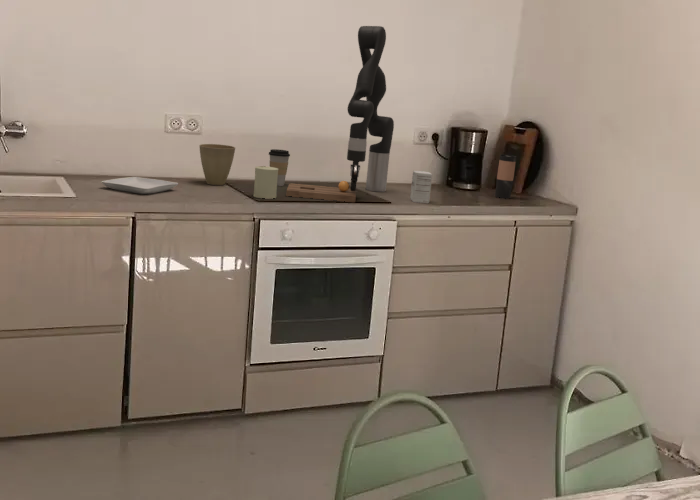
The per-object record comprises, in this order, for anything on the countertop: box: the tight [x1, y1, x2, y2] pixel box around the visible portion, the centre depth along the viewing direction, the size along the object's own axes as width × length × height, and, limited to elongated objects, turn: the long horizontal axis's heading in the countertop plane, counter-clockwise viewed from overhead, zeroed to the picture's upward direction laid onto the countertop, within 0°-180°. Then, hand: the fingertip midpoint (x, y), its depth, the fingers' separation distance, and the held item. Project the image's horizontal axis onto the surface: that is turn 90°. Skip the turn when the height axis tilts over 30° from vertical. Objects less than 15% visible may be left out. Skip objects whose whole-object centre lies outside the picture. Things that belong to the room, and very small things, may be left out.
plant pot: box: [199, 143, 236, 186], centre depth 334 cm, size 15×15×16 cm
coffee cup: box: [268, 148, 291, 187], centre depth 349 cm, size 9×9×15 cm
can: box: [252, 165, 278, 200], centre depth 314 cm, size 9×9×12 cm
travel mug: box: [494, 153, 517, 199], centre depth 375 cm, size 8×8×20 cm
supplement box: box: [409, 170, 433, 204], centre depth 340 cm, size 7×7×13 cm
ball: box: [337, 180, 350, 192], centre depth 331 cm, size 4×4×4 cm
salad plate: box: [101, 176, 179, 195], centre depth 305 cm, size 21×21×3 cm
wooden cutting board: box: [285, 183, 357, 203], centre depth 331 cm, size 20×28×2 cm
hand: (353, 190), depth 331 cm, fingers closed
